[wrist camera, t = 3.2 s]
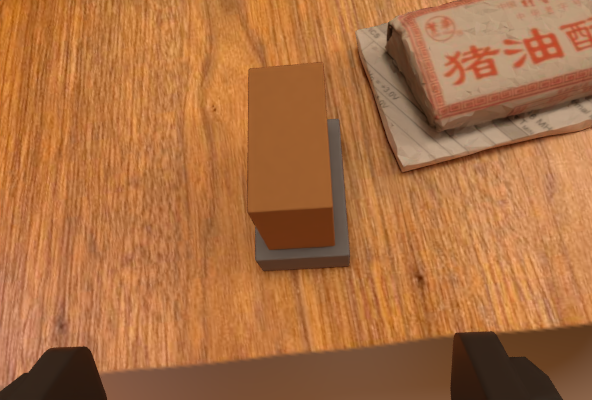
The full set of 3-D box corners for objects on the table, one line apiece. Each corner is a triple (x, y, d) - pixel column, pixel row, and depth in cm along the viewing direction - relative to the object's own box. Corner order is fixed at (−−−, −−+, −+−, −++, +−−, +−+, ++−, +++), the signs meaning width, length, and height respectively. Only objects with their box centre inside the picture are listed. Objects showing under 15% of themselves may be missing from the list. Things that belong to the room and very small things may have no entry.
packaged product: (660, -89, 25) (771, 45, 21) (612, -19, 30) (696, 102, 26) (354, -11, 25) (411, 136, 22) (352, 47, 30) (399, 177, 26)
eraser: (349, 266, 24) (352, 218, 17) (262, 271, 25) (228, 225, 17) (339, 139, 27) (338, 50, 20) (262, 144, 28) (233, 60, 20)
